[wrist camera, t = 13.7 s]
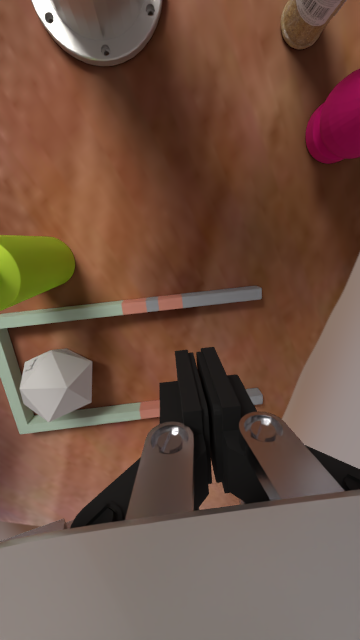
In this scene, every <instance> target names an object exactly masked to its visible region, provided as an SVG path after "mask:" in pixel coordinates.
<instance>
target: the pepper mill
mask: <svg viewBox="0 0 360 640" xmlns="http://www.w3.org/2000/svg"><path fill="white" fill-rule="evenodd" d="M306 145H307V148H308V150H309V153H310V154H311V155H312V156H313V158H314V159H316V160H317V161H319V162H322V163H327V164H330V163H336V162H338V161H341V160H343V159H345V158H347V159H352V158H358V157H360V69H358V70H356V71H354V72H352V73H351V74H350V75H348V76H347V77H346V78H344V79H343V80H342V81H341V82H339V83H338V84H337V85H336V86H335V87H334V89H333V90H332V91H331V93H330V94H329V96H328V97H327V99H326V101H325V102H324V103H323V104H322V105H320V106H319V107H318V108H317V109H316V110H315V112H314V113H313V114H312V116H311V117H310V120H309V122H308V125H307V128H306Z"/></svg>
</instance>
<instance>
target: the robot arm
mask: <svg viewBox="0 0 360 640" xmlns="http://www.w3.org/2000/svg"><path fill="white" fill-rule="evenodd" d="M31 1H32V4H33V6H34V8H35V10H36V13H37V15H38V17H39V18H40V20H41V22H42V24H43V25H44V27H45V29H46V30H47V31H48V33H49V34H50V35H51V37H52V38H53V40H54V41H55V42H56V43H57V44H58V45H59V46H60V47H61V48H62V49H63V50H64V51H66V52H67V53H69V54H70V55H72V56H73V57H74V58H76V59H78V60H81V61H83V62H85V63H87V64H92V65H97V66H113V65H117V64H120V63H124V62H125V61H127V60H129V59H131V58H133V57H134V56H135V55H136V54H138V53H139V52H140V51H141V50H142V49H143V48H144V47H145V45H146V44H147V43H148V41H149V40H150V39H151V37H152V35H153V33H154V31H155V29H156V27H157V24H158V20H159V17H160V14H161V9H162V1H163V0H31ZM149 15H152V16H149ZM106 54H109V55H107V56H105V55H106ZM196 355H197V366H196V363H195V359H194V355H193V353H188V350H180V351H175V357H176V368H177V378H178V381H173V382H164V383H160V424H159V425H157V426H156V427H154V428H153V429H152V430H151V431H150V432H149V433H148V435H147V437H146V440H145V444H144V448H143V452H142V455H141V458H139V459H138V460H137V461H136V462H135V463H134V464H133V465H132V466H130V467H129V468H128V469H127V470H126V471H125V472H124V473H123V474H121V475H120V476H119V477H118V478H117V479H116V480H115V481H114V482H112V483H111V484H110V485H109V486H108V487H107V488H106V489H104V490H103V491H102V492H101V493H100V494H99V495H98V496H97V497H95V498H94V499H93V500H92V501H91V502H90V503H89V504H88V505H86V506H85V507H84V508H83V509H82V510H81V511H80V513H79V514H78V515H77V516H76V518H75V519H74V520H72V521H70V522H67V523H66V522H65V519H61V520H59V521H56V522H53V523H50V524H47V525H44V526H42V527H39V528H36V529H33V530H30V531H28V532H25V533H22V534H19V535H16V536H14V537H11V538H8V539H6V540H3V541H0V640H360V469H358V468H356V467H353V466H351V465H349V464H346V463H344V462H342V461H339V460H337V459H335V458H333V457H331V456H328V455H326V454H324V453H322V452H319V451H317V450H315V449H313V448H310V447H308V446H306V445H304V444H303V443H302V442H301V440H300V439H299V438H298V437H297V436H296V435H295V433H294V432H293V431H292V430H291V429H290V428H289V427H288V425H287V424H286V423H285V422H284V421H283V420H282V419H280V418H279V417H277V416H275V415H273V414H270V413H267V412H257V410H256V408H255V406H254V405H253V403H252V401H251V399H250V397H249V395H248V393H247V391H246V389H245V388H244V386H243V384H242V382H241V380H240V378H239V376H238V375H228V376H227V375H226V373H225V370H224V368H223V366H222V364H221V362H220V359H219V357H218V355H217V353H216V351H215V348H214V347H209V348H201V352H197V353H196ZM211 461H212V465H213V470H214V474H215V479H216V482H217V483H219V482H222V484H223V488H224V492H225V493H232V494H233V495H235V496H236V497H238V498H239V503H240V505H234V506H227V507H219V508H212V509H204V510H199V506H200V505H201V504H202V502H203V501H204V500H205V498H206V497H207V496H208V494H209V489H208V484H211V483H212V474H211Z"/></svg>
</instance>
